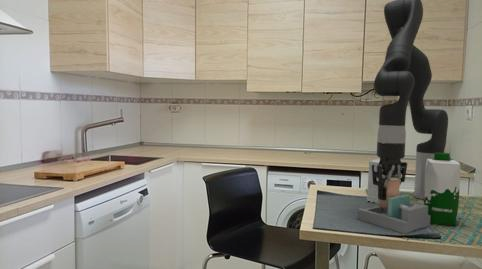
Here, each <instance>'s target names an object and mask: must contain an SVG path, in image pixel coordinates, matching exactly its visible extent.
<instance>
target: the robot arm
mask: <svg viewBox="0 0 482 269" xmlns="http://www.w3.org/2000/svg"><path fill="white" fill-rule="evenodd" d="M423 6H424V5H423V2H422V0H392V1H389V2H387V3H385V4H384V9H383V13H384V19H385V23H386V25H387V29H388V32H389V35H390V37H391V41H389V44H388V46H387V48H386V52H385V57H384V62H383V63H382V64H383V65H382V66H381V67H380V69H379V70H378V72H377V74H376V76H375V77H374V81H373V89H374V92H375V93H376V95H377V96H380V97H398V100H397V101H395V102H392V103H387V104H383V105H381V106H380V107H379V114H378V115H379V117H378V120H379V121H378V129H377V138H376V139H377V141H376V156H377V158H378V157H379V159H380V161H379V164H377V165H372V177H373V184H374V185H377V186H378V199H380V200H386V192H387V188H386V186H387V183H388V181H389V180H390V178H391V176H394V177H398V179H399V180H400V186H401V184H402V183H405V181H406V176H407V175H406V174H407V169H408V162H405V161H402V160H401V159H404V158H405V154H406V153H405V152H406V139H407V138H406V137H407V135H406V134H407V132H406V117H407V108H408V104H409V110H410V115H411V122H412V126H413V129H414V130H415V132H417V133H418V134H423V135H425V134H426V135H431V137H430V138H429V139H428V140H427V141H424V142H420V143H418V144H417V145H416V153H415V155H416V156H415V171H414V172H415V173H414V189H413V190H414V191H413V197H414V198H417V199H419V200H424V187H425V173H426V162H427V159H434V153H436V152H440V153H445V149H446V145H447V135H448V129H449V128H448V127H449V116H448V112H447V111H446V110H444V109H437V108H436V109H435V108H433V109H430V108H429V109H428V108H426V107H425V103H424V97H425V94H426V92H427V90H428V88H429V86H430V84H431V82H432V78H433V73H432V69H431V63H430V62H429V58H428V56H427V55H426V54H425V53H424V52H423V51H422V50H421V49H419V48H418V47H416V46H415V45H414V42H415V40H416V38H417V35H418V33H419V30H420V27H421V23H422V22H423V21H422V20H423V16H424V7H423ZM382 174H383V175H384V176H382ZM377 178H378V181H377ZM383 179H384V182H383Z"/></svg>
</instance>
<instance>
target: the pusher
mask: <svg viewBox="0 0 482 269" xmlns="http://www.w3.org/2000/svg"><path fill="white" fill-rule="evenodd" d="M410 196H411V195H409V194H402V195H399V196H396V197H391V198H388V214H387V216H390V217H393V218H397V219H400V220H401V217H402V209H404V208H408V207H410V202H411V201H410V199H411V197H410Z"/></svg>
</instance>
